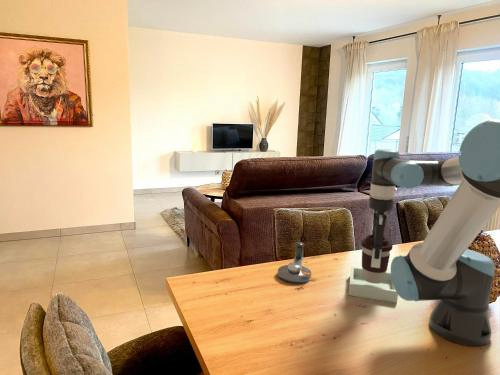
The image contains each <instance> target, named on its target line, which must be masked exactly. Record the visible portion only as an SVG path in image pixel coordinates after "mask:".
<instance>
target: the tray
mask: <svg viewBox="0 0 500 375" xmlns="http://www.w3.org/2000/svg"><path fill="white" fill-rule="evenodd" d="M348 296H352V297H353V296H354V297H359V298H364V299H371V300H377V301H383V302H390V303H396V304H397V303H398V299H399V298H398V296H399V295H398V294H397V292H396V290H395V288H394V285H393V282H392V278H391V271H386V274H385V279H384V282H382V283H379V284H375V283H370V282H367V281H365V280H364V279H363V278H362V267H355V266H350V275H349V286H348Z"/></svg>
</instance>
